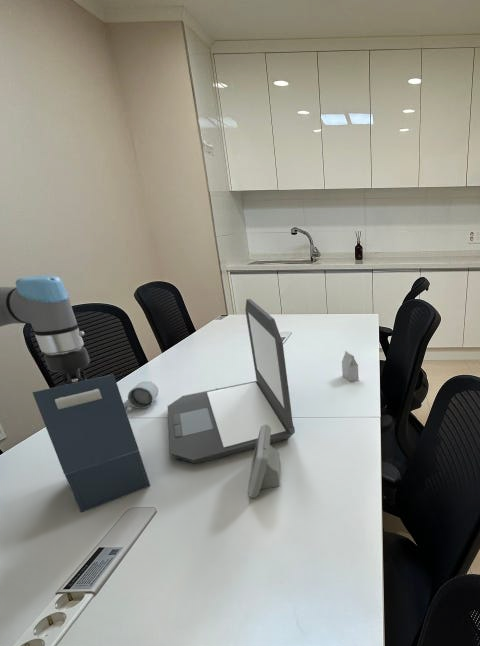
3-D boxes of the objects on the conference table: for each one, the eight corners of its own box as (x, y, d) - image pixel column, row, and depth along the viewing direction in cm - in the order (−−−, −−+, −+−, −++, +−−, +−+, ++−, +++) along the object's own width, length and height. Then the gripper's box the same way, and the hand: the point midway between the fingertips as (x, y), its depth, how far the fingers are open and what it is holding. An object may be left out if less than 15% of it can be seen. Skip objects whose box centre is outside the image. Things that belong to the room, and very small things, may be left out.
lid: (32, 392, 76) (28, 397, 69) (113, 374, 84) (116, 377, 77) (64, 473, 81) (63, 486, 74) (138, 449, 88) (143, 458, 81)
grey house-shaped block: (349, 381, 146) (348, 356, 142) (342, 375, 151) (341, 351, 147) (358, 379, 147) (357, 355, 143) (351, 373, 153) (350, 349, 149)
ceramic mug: (162, 397, 137) (156, 377, 134) (155, 407, 130) (149, 386, 127) (129, 401, 135) (122, 381, 132) (121, 411, 128) (114, 390, 125)
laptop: (168, 405, 131) (142, 307, 118) (261, 385, 144) (247, 295, 131) (174, 473, 96) (137, 345, 83) (296, 439, 109) (281, 324, 96)
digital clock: (255, 458, 101) (249, 423, 97) (289, 457, 101) (284, 422, 97) (235, 500, 87) (226, 461, 82) (275, 499, 87) (268, 460, 82)
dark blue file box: (75, 475, 97) (61, 442, 93) (137, 455, 104) (127, 423, 100) (80, 512, 85) (65, 475, 80) (150, 485, 92) (139, 451, 88)
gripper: (90, 360, 77) (121, 450, 86) (80, 334, 95) (106, 410, 104) (43, 370, 73) (80, 463, 82) (42, 340, 91) (72, 419, 100)
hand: (95, 433), depth 93 cm, fingers open, 13 cm apart
